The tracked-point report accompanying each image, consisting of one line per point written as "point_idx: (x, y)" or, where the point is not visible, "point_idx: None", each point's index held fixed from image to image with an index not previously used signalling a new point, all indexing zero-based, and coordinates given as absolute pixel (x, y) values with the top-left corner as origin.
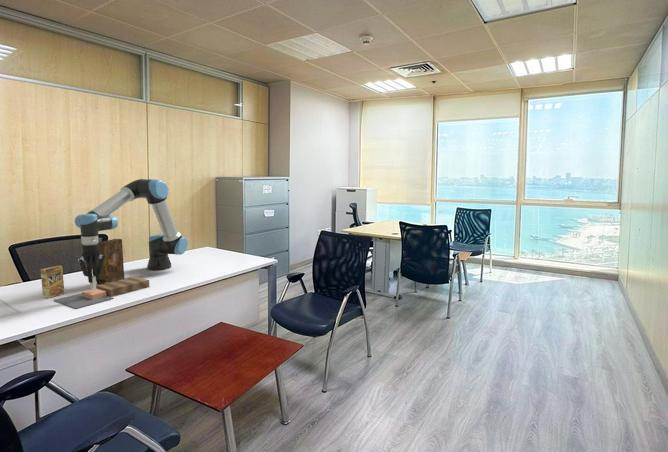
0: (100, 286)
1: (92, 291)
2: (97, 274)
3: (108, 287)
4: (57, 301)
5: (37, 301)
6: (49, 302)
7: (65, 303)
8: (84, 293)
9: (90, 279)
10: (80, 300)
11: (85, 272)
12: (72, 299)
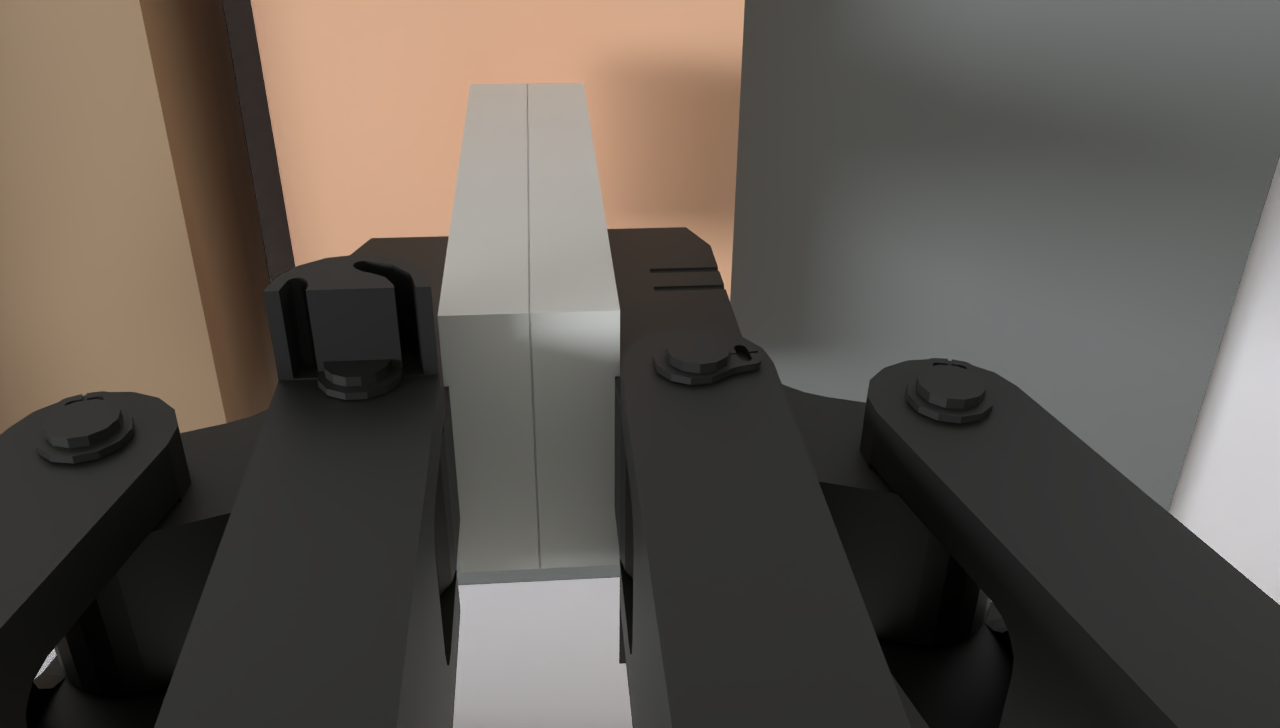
0: (197, 364)
1: None
2: (281, 386)
3: (15, 20)
4: (1197, 405)
5: None
6: (1250, 499)
7: (1275, 91)
8: (724, 279)
9: (692, 305)
10: (949, 20)
11: (1172, 542)
12: (981, 277)
